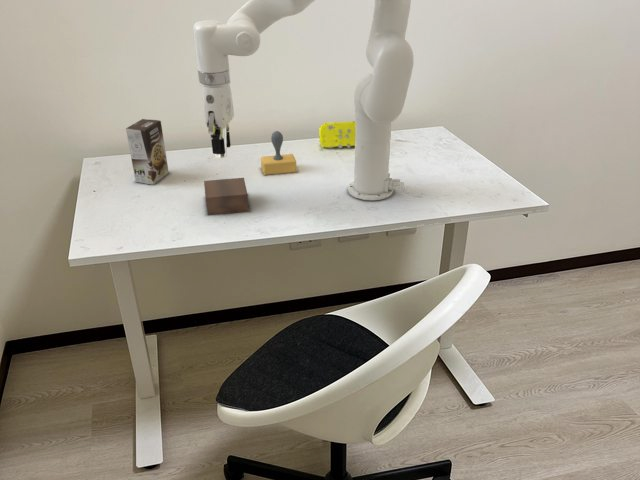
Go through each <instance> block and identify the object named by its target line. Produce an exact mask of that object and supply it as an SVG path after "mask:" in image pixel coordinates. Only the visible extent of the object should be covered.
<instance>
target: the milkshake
mask: <svg viewBox="0 0 640 480" xmlns="http://www.w3.org/2000/svg"><path fill="white" fill-rule="evenodd" d="M215 126H218V124H215ZM215 130H216V131H218V133H219V129H215ZM227 132H228V131H227V126H226V127H225V128H222V138H224V144H225V154H214V158H216V159H225V158H227V157H228V147H227V138H226V137H227Z"/></svg>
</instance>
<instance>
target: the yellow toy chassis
mask: <svg viewBox="0 0 640 480" xmlns="http://www.w3.org/2000/svg"><path fill="white" fill-rule="evenodd" d="M355 128H356V121H336V122H324V123H323V124H321V125H320V126H319V127H318V136H319V137H318V139H319V140H318V142H319V143H320V148H325V149H327V150H328V149H329V150H330V149H331V150H332V149H335V148H336V147H338V148H339V149H342V148H343V147H346V148H347V149H348V148H349V149H350V148H351V147H353V146H354V147H355Z"/></svg>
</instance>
